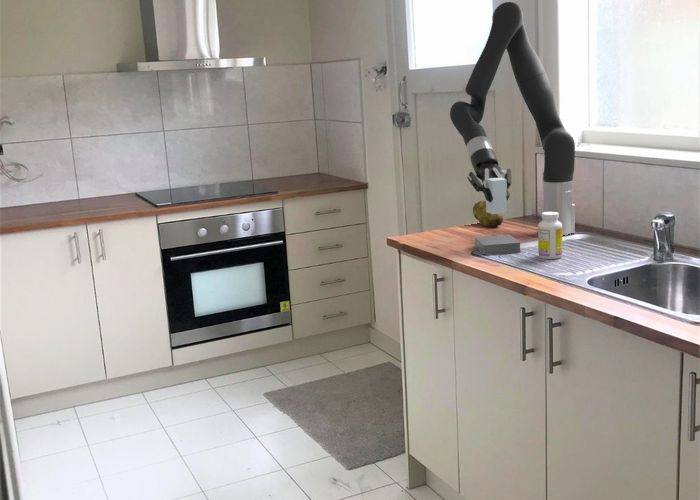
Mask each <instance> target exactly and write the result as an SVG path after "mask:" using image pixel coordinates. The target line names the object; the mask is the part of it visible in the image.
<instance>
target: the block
mask: <svg viewBox="0 0 700 500" xmlns="http://www.w3.org/2000/svg"><path fill="white" fill-rule="evenodd" d="M487 183H488V188H489V189H490V191H491V194H492V197H493V200H492V202H488V201H487V200H486V199H485V201H486V212H488V213H491V214H500V213H501V214H507V213H508V211H507V208H508V207H507V205H508V204H507V201H508V200H507V198H506V195H507V193H506V179H505V178H504V177H503V178H489V179H487Z"/></svg>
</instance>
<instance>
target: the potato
mask: <svg viewBox="0 0 700 500" xmlns="http://www.w3.org/2000/svg"><path fill="white" fill-rule="evenodd" d="M472 214H473V217H474V218H475V219H476V220H477V221H478V222H479V224H480V225H481V226H483V227H489V228H497V227H499V226H501V225H502V224H503V222H504V217H503V214H502V213H500V214H491V213H488V212H486V200H480V201H477V202H476V203H474V205H473V207H472Z"/></svg>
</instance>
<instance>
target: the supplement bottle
mask: <svg viewBox="0 0 700 500" xmlns="http://www.w3.org/2000/svg"><path fill="white" fill-rule="evenodd" d="M558 217H559V213H557V212H543V211H542V212H541V221H540V222H539V223H538V225H537V227H538V228H537V233H538V234H537V237H538V238H537V242H538V247H537V248H538V249H537V250H538V251H537V252H538V257H539V258H541V259H544V260H558V259H561V257H563V236H562V223H561V222H559V221H558Z"/></svg>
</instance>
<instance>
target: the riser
mask: <svg viewBox="0 0 700 500" xmlns="http://www.w3.org/2000/svg"><path fill="white" fill-rule="evenodd" d="M474 248H476V250H478V251H479V250H480V251H481V252H482V253H483V254H493V255H503V254H516V253H518V254H519V253H521V242H520V241H519V240H518V239H517V238H515V237H513V236H512V235H511V234H501V235H499V234H498V235H488V236H487V235H486V236H474ZM480 251H479V252H480ZM481 252H480V253H481ZM482 253H481V254H482ZM483 254H482V255H483Z"/></svg>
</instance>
